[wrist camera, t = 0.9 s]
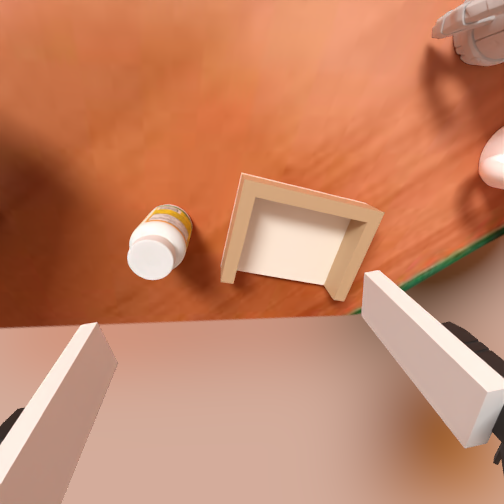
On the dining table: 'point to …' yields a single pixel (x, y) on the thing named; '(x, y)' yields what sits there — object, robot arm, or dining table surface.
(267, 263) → the u rest
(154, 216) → the supplement bottle
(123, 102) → the dining table surface
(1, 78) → the dining table surface
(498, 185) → the mug
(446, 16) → the mug
